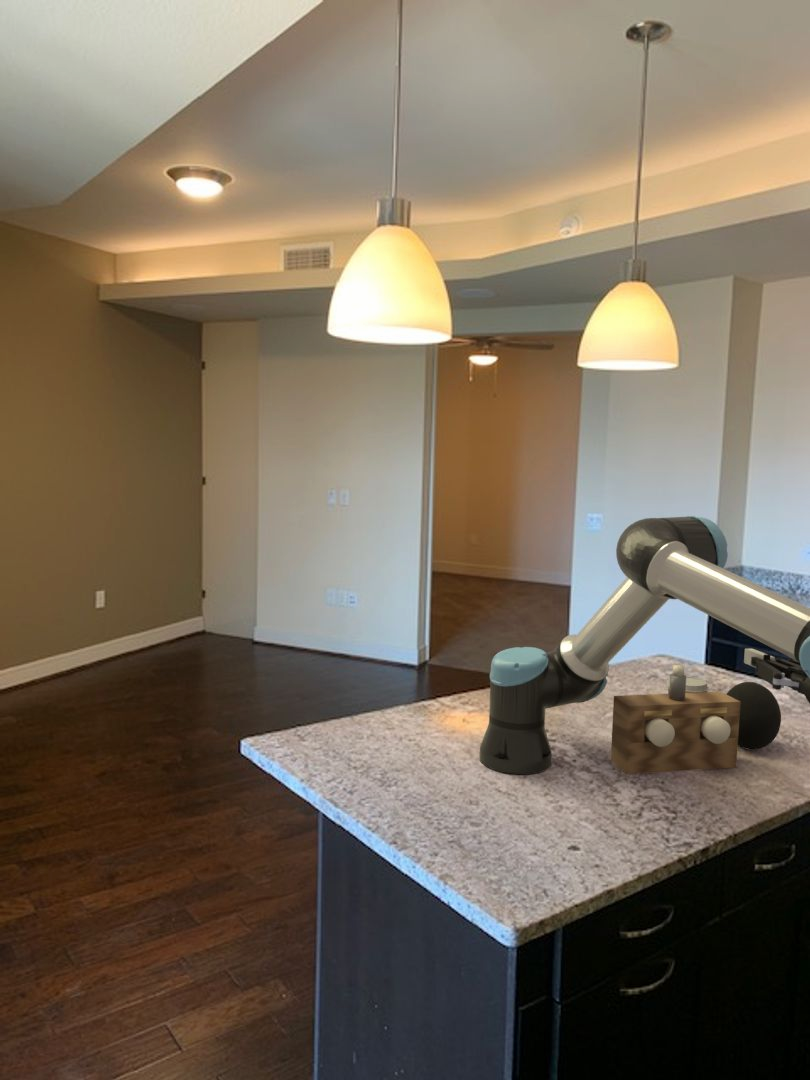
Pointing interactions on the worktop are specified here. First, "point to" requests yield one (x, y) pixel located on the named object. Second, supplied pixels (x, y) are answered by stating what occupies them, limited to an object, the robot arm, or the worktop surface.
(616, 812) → the worktop surface
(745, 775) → the worktop surface
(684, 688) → the grey bottle
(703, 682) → the disposable coffee cup
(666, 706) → the mount
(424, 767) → the worktop surface
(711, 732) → the knob
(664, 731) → the knob
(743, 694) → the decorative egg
